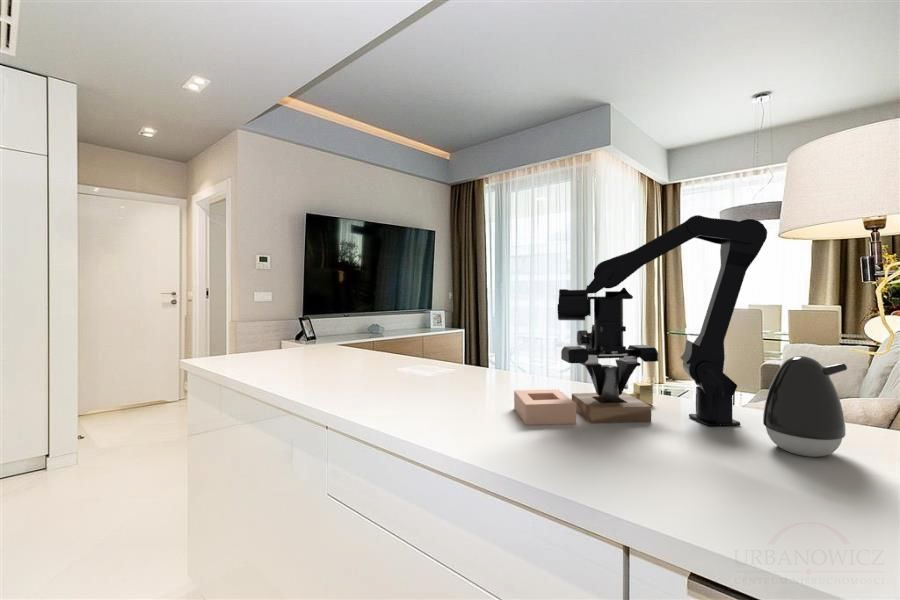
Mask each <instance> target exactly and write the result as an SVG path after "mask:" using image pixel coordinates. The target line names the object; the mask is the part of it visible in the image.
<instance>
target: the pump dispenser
mask: <svg viewBox="0 0 900 600" xmlns="http://www.w3.org/2000/svg"><path fill="white" fill-rule="evenodd" d="M847 370H848V366H847V365H846V363H839V364H833V365H827V366H823V365H822V364H821V363H820V362H819V361H817V360H816V359H814V358H812V357H809V356H803V355H802V356H801V355H798V356H793V357H789V358H788V359H787V360H785V361H784V362H783V363H782V364H781V365H780V366H779V368H778V370H777V372H775V373H776V374H775V375H774V377H773V379H772V381H771V383H770V386H769V388H768V390H767V391H768V392H767V394H766V398H765V402H764V407H763V413H762V414H763V415H762V416H763V417H762V422H763V423H762V425H763V426H764V427H765V429H766V432H767V435H768V436H769V438H770V440H771V441H772V442H773V443H774V444H775V445H776V446H777V447H778V448H780V449H782V450H784V451H785V452H788V453H790V454H793V455H797V456H798V455H799V456H802V457H809V458H810V457H812V458H819V457H825V456H828V455H831V454H832V453H834V452H835V451H836V450H838V448H839V447H840V446H841V444H842V441H843V438H845V437H846V434H847V433H846V431H847V430H846V422H845V415H844V410H843V406H842V403H841V402H842V401H841V399H840V395H839V393H838V391H837V388H836V386H835V385H834V382H833V380H832V379H831V376H832V375H835V374H838V373H841V372H844V371H847Z"/></svg>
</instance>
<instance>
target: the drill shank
mask: <svg viewBox="0 0 900 600" xmlns="http://www.w3.org/2000/svg"><path fill="white" fill-rule="evenodd" d="M601 365H602V373H601V395H599V402H600V403H619V367H618V366H617V365H613V364H601Z"/></svg>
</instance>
